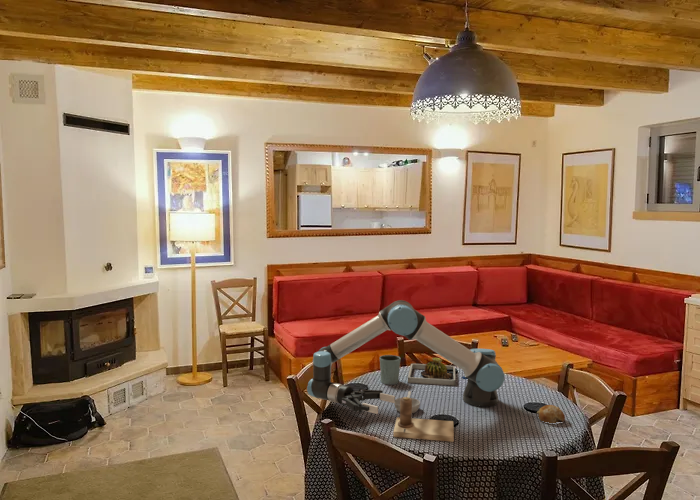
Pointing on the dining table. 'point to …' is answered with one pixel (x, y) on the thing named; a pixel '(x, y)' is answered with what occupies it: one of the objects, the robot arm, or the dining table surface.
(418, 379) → the plant tray
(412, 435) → the board
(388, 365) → the green cup
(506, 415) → the dining table surface
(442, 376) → the cactus
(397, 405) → the saucepan
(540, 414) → the bread roll
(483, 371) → the robot arm
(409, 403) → the brown flanged cylinder
